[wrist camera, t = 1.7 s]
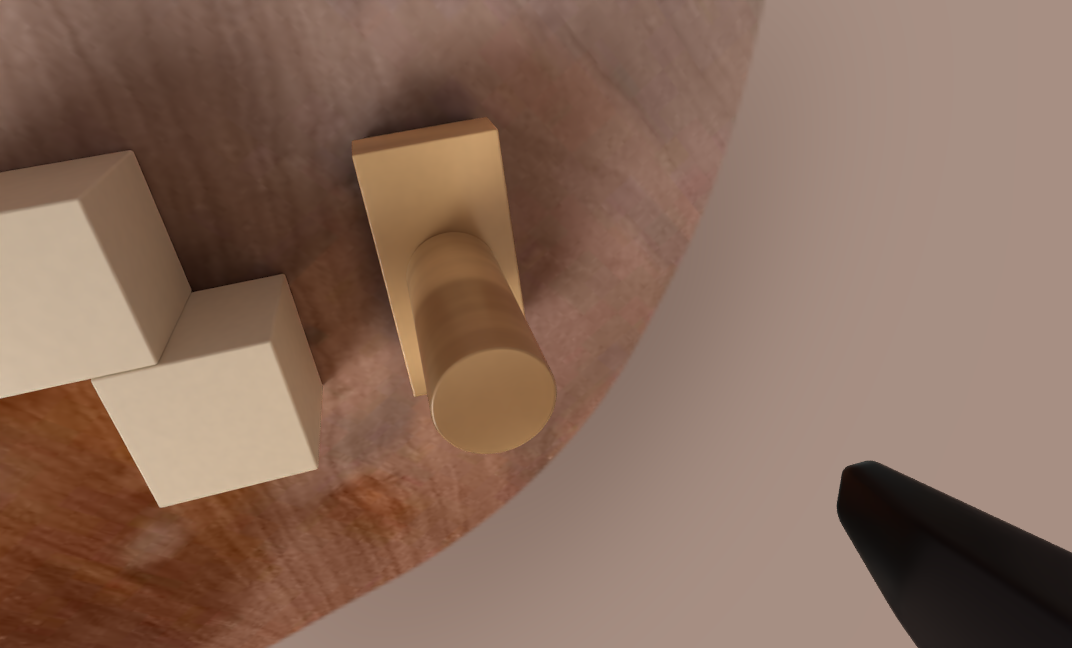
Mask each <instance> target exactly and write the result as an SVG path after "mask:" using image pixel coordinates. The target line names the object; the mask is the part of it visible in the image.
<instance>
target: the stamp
mask: <svg viewBox="0 0 1072 648" xmlns="http://www.w3.org/2000/svg"><path fill="white" fill-rule="evenodd" d="M352 159H353V163H354V166H355V170H356V174H357V178H358V182H359V186H360V190H361V194H362V197H363V201H364V205H365V209H366V213H367V217H368V221H369V225H370V228H371V232H372V236H373V240H374V244H375V248H376V252H377V256H378V259H379V263H380V267H381V271H382V275H383V279H384V283H385V287H386V290H387V294H388V298H389V302H390V306H391V310H392V314H393V318H394V321H395V325H396V329H397V333H398V337H399V341H400V345H401V349H402V352H403V356H404V360H405V364H406V368H407V372H408V376H409V380H410V383H411V387H412V391H413V395H414V397H417V396H421V395H426V394H427V396H428V401H429V407H430V412H431V418H432V421H433V424H434V426H435V427H436V429H437V431H438V432H439V434H440V435H441V436H442V437H443V438H444V439H445V440H446V441H447V442H449V443H450V444H452V445H453V446H455V447H457V448H459V449H461V450H464V451H467V452H471V453H477V454H494V453H500V452H505V451H508V450H511V449H514V448H516V447H519V446H521V445H522V444H524V443H526V442H527V441H529V440H530V439H532V438H533V437H534V436H535V435H537V434H538V433H539V432H540V431H541V430H542V428H543V427H544V426H545V425H546V423H547V422H548V420H549V419H550V417H551V415H552V412H553V410H554V407H555V403H556V397H557V388H556V382H555V379H554V376H553V374H552V372H551V370H550V368H549V365H548V363H547V361H546V359H545V357H544V355H543V353H542V351H541V349H540V347H539V345H538V343H537V341H536V339H535V337H534V335H533V333H532V331H531V329H530V327H529V325H528V323H527V321H526V319H525V312H524V305H523V298H522V291H521V284H520V278H519V271H518V264H517V257H516V250H515V243H514V236H513V230H512V223H511V216H510V209H509V202H508V195H507V188H506V182H505V175H504V168H503V161H502V154H501V147H500V141H499V134H498V130H497V128H496V127H495V126H494V125H493V124H492V122H491V121H490V120H489V119H488V118H487V117H482V118H477V119H468V120H462V121H457V122H451V123H446V124H440V125H434V126H429V127H423V128H417V129H412V130H406V131H401V132H395V133H389V134H384V135H378V136H372V137H367V138H363V139H359V140H353V141H352Z"/></svg>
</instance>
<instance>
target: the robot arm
mask: <svg viewBox="0 0 1072 648" xmlns="http://www.w3.org/2000/svg"><path fill="white" fill-rule="evenodd" d="M837 513H838V517H839V519H840V522H841V524H842V526H843V527H844V529H845V531H846V532H847V534H848V536H849V537H850V539H851V541H852V542H853V544H854V546H855V548H856V549H857V551H858V553H859V555H860V556H861V558H862V560H863V562H864V563H865V565H866V567H867V568H868V570H869V572H870V574H871V575H872V577H873V579H874V580H875V582H876V584H877V586H878V587H879V589H880V591H881V592H882V594H883V596H884V597H885V599H886V601H887V603H888V604H889V606H890V608H891V609H892V611H893V612H894V614H895V616H896V617H897V619H898V620H899V621H900V623H901V624H902V626H903V627H904V629H905V630H906V632H907V633H908V635H909V636H910V637H911V639H912V640H913V642H914V643H915V644H916V646H917V647H918V648H1072V553H1071V552H1069V551H1067V550H1065V549H1063V548H1060V547H1059V546H1056V545H1054V544H1052V543H1050V542H1048V541H1046V540H1044V539H1041V538H1039V537H1037V536H1035V535H1033V534H1031V533H1028V532H1026V531H1024V530H1022V529H1020V528H1018V527H1016V526H1013V525H1011V524H1009V523H1007V522H1005V521H1003V520H1001V519H999V518H996V517H994V516H992V515H990V514H988V513H986V512H983V511H981V510H979V509H977V508H975V507H973V506H971V505H968V504H966V503H964V502H962V501H960V500H958V499H955V498H953V497H951V496H949V495H947V494H945V493H943V492H940V491H938V490H936V489H934V488H932V487H930V486H927V485H926V484H923V483H921V482H919V481H917V480H915V479H913V478H911V477H908V476H906V475H904V474H902V473H900V472H898V471H895V470H893V469H891V468H889V467H887V466H885V465H883V464H880V463H878V462H875V461H864V462H861V463H857V464H853V465H850V466H847V467H846V468H845V469H844V470H843V472H842V476H841V483H840V489H839V494H838V501H837Z"/></svg>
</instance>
